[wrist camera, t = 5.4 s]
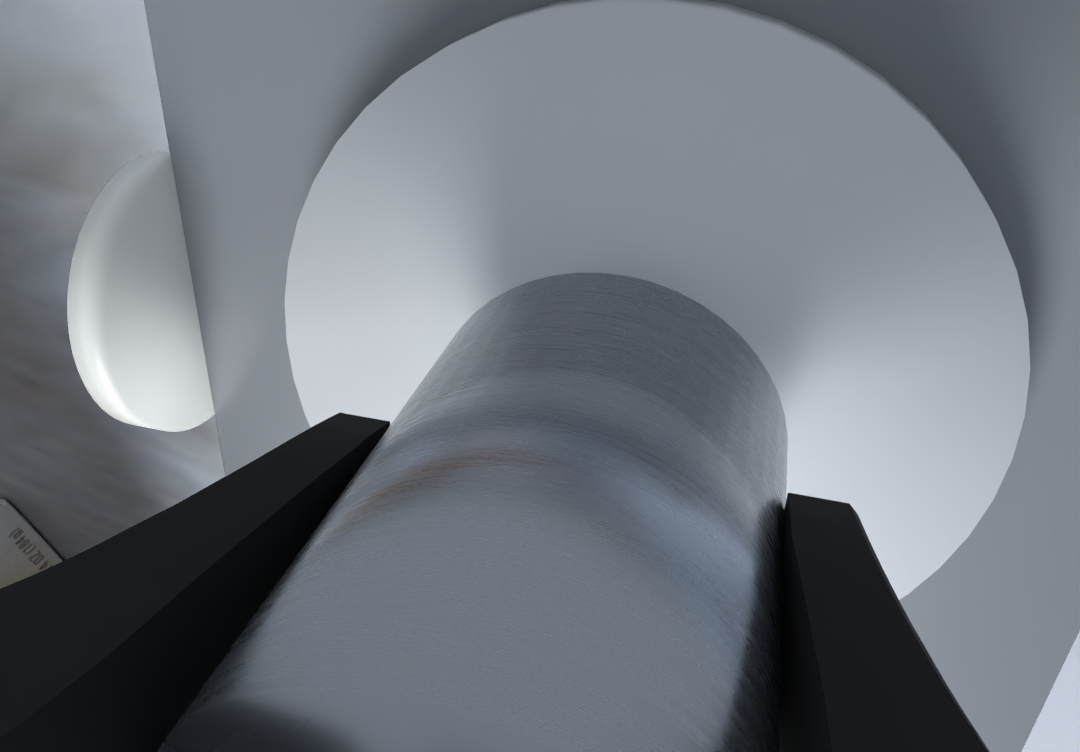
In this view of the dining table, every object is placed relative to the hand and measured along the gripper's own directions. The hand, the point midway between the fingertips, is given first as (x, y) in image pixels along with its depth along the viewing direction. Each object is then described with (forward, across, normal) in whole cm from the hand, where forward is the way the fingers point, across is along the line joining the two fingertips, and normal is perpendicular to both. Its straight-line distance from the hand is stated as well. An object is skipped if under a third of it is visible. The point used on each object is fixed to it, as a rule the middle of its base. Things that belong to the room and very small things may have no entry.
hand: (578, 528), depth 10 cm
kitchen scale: (+6, 0, 0) cm, 6 cm away
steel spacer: (+2, 0, 0) cm, 2 cm away
